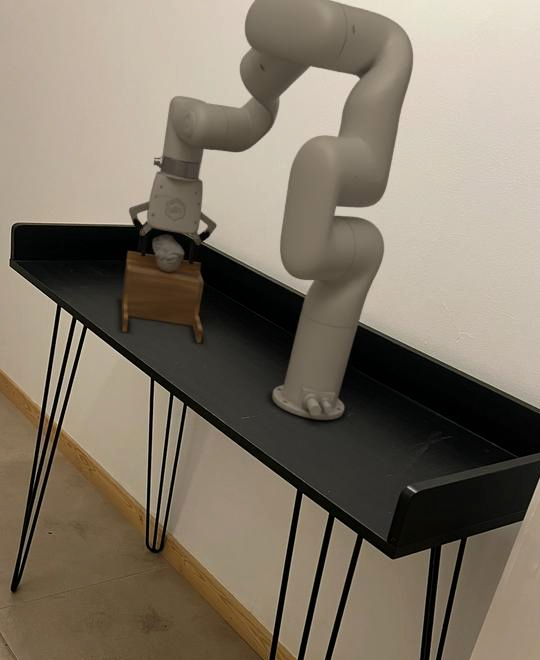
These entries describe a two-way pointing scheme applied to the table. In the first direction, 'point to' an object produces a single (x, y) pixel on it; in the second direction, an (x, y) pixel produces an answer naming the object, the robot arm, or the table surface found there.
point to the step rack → (162, 292)
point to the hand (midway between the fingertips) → (166, 258)
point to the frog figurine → (167, 253)
